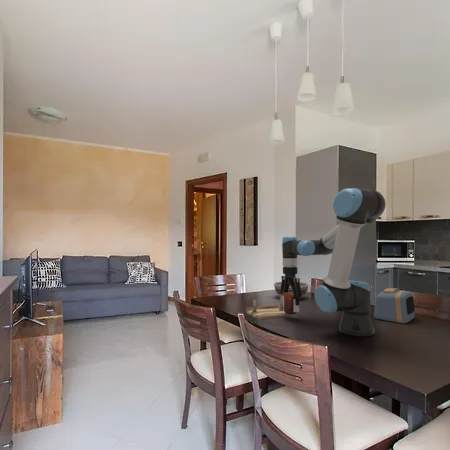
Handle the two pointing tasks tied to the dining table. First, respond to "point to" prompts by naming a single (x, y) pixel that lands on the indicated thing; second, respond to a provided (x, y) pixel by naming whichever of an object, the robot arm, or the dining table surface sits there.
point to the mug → (289, 303)
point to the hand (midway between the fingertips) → (290, 309)
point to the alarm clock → (394, 306)
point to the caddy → (267, 311)
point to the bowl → (302, 285)
